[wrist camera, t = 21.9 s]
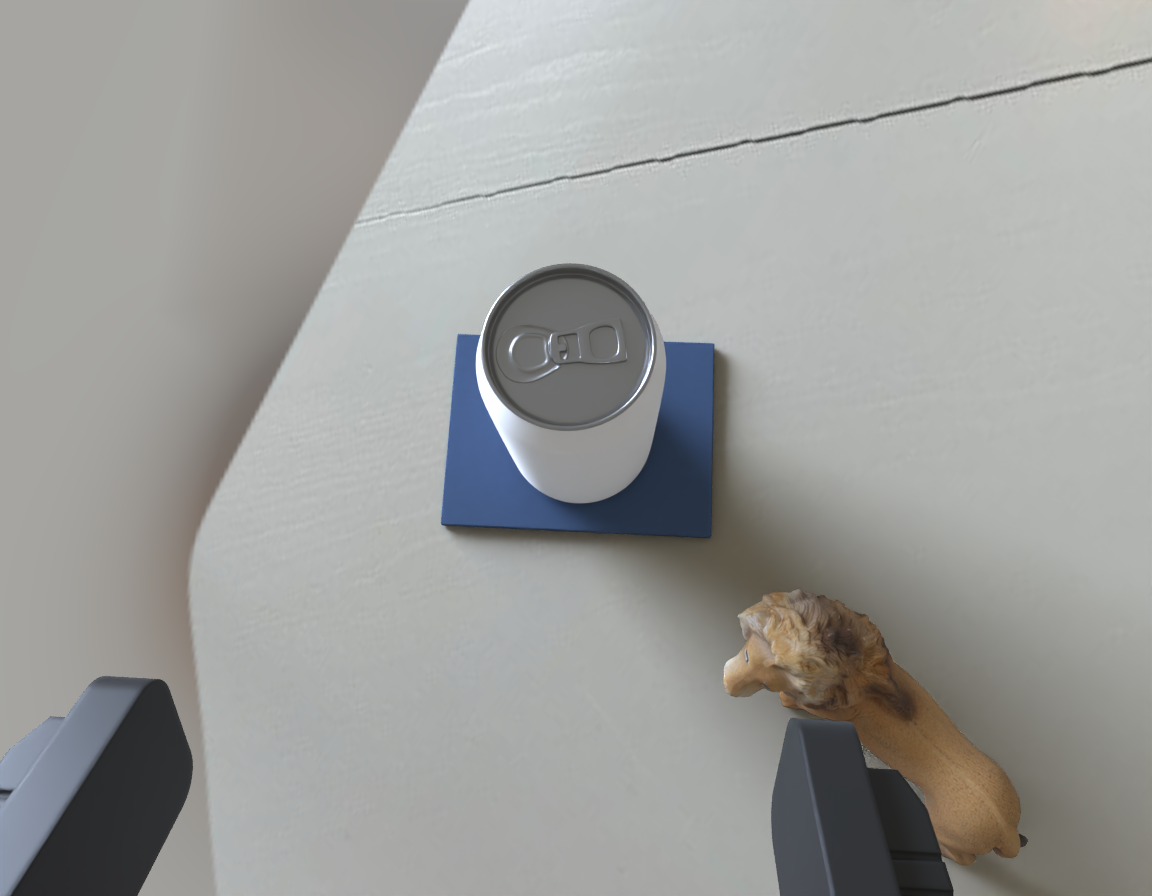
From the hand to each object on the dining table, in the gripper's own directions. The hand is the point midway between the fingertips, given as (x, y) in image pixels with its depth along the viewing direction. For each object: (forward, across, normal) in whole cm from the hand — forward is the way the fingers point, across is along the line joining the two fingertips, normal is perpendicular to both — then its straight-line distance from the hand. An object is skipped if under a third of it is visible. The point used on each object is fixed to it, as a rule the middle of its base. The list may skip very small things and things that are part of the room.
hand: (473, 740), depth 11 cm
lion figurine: (+18, -12, +20) cm, 29 cm away
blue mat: (+26, 0, +11) cm, 28 cm away
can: (+26, 0, +11) cm, 28 cm away
